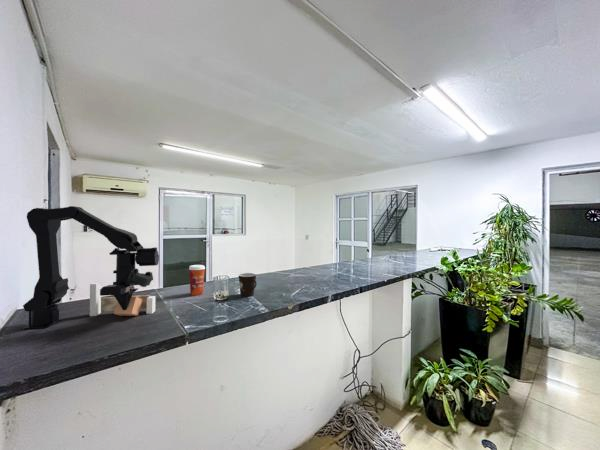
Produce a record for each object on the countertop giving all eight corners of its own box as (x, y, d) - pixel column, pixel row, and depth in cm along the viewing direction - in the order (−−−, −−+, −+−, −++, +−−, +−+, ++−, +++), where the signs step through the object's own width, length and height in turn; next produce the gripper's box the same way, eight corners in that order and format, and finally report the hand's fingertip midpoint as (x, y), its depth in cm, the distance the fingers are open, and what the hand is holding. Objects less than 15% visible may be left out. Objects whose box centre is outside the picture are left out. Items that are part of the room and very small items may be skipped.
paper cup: (193, 297, 116) (193, 267, 116) (185, 294, 121) (185, 265, 121) (208, 293, 122) (208, 265, 122) (199, 290, 127) (200, 263, 127)
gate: (101, 311, 93) (101, 298, 93) (102, 310, 94) (103, 297, 94) (148, 308, 97) (148, 295, 97) (149, 307, 98) (149, 295, 98)
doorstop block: (113, 313, 88) (119, 296, 91) (120, 316, 92) (125, 299, 95) (131, 313, 88) (136, 296, 91) (137, 315, 93) (142, 299, 96)
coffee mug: (237, 292, 124) (238, 273, 124) (254, 291, 127) (255, 272, 127) (239, 299, 113) (239, 278, 113) (257, 298, 116) (258, 277, 116)
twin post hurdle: (89, 316, 91) (90, 284, 91) (94, 313, 94) (95, 282, 94) (152, 313, 95) (152, 282, 95) (155, 310, 98) (155, 281, 98)
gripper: (136, 269, 81) (135, 316, 80) (160, 263, 100) (159, 302, 99) (99, 270, 80) (98, 318, 79) (130, 264, 98) (129, 303, 97)
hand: (124, 309), depth 89 cm, fingers closed, pressing on doorstop block
